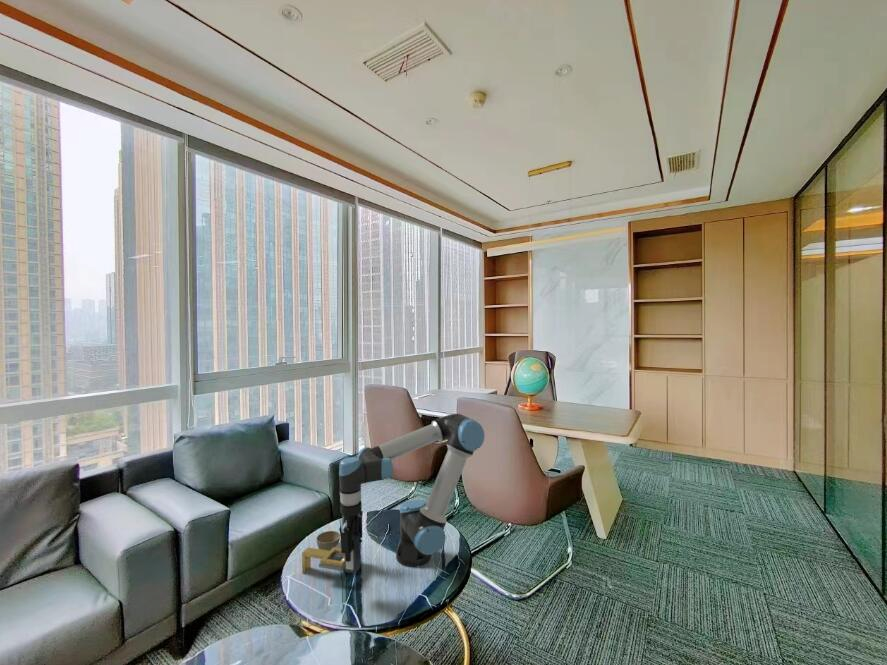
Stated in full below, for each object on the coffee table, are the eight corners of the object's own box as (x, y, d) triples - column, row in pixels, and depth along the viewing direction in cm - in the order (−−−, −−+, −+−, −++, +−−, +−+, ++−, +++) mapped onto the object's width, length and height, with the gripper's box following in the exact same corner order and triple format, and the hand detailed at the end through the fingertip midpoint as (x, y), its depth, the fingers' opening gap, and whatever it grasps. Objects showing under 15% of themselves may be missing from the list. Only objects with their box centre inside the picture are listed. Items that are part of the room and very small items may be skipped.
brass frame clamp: (362, 560, 161) (362, 508, 161) (342, 586, 145) (341, 528, 145) (321, 553, 166) (320, 503, 166) (297, 577, 150) (297, 522, 150)
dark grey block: (360, 566, 141) (359, 534, 141) (355, 573, 137) (354, 540, 137) (350, 565, 142) (349, 533, 142) (345, 571, 138) (344, 539, 138)
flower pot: (333, 561, 161) (333, 544, 161) (311, 558, 163) (311, 541, 163) (344, 547, 171) (344, 531, 171) (323, 545, 173) (323, 529, 173)
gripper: (352, 490, 149) (354, 549, 149) (329, 511, 132) (331, 578, 133) (370, 492, 147) (372, 552, 147) (348, 513, 130) (350, 581, 131)
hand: (352, 564), depth 140 cm, fingers closed on dark grey block, 4 cm apart
